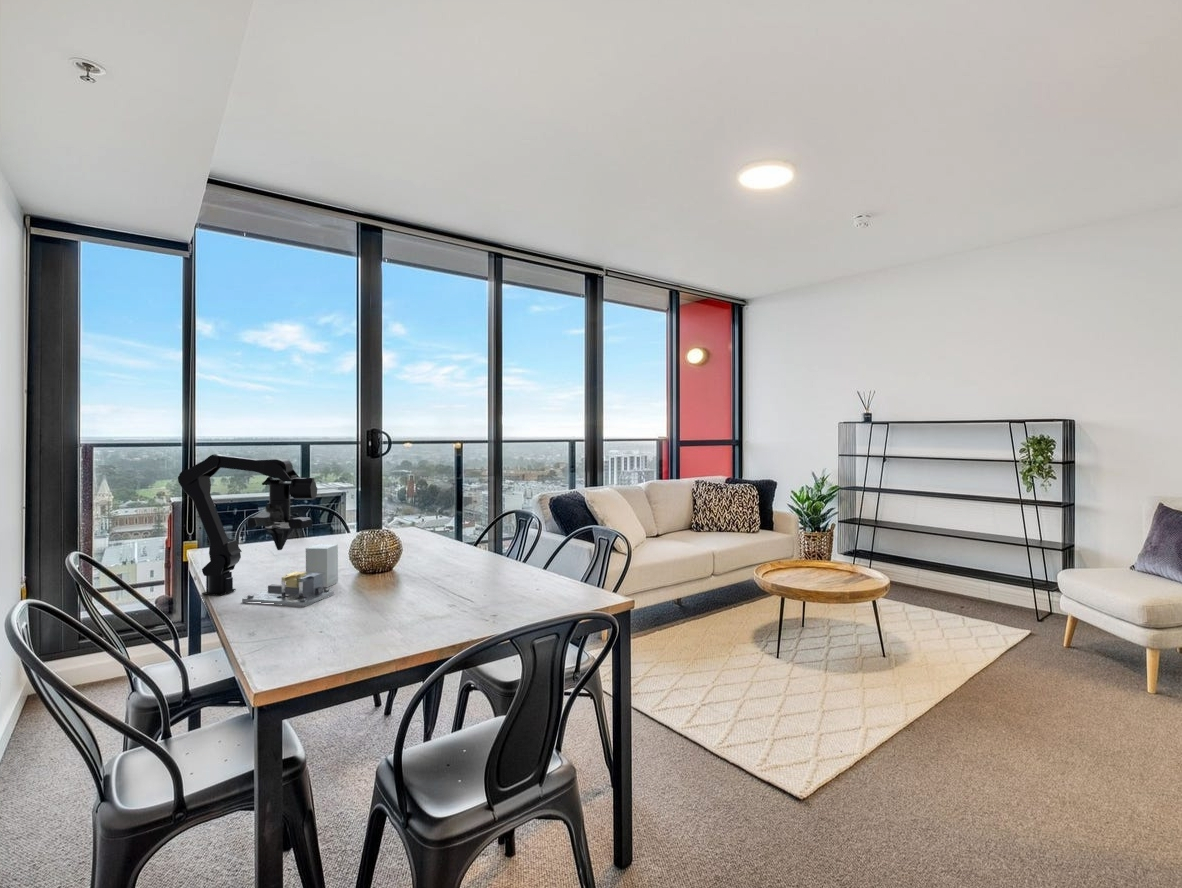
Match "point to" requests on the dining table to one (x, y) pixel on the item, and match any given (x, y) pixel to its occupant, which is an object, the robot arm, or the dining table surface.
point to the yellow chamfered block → (291, 580)
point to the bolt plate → (286, 600)
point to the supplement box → (323, 562)
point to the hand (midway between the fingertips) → (279, 549)
